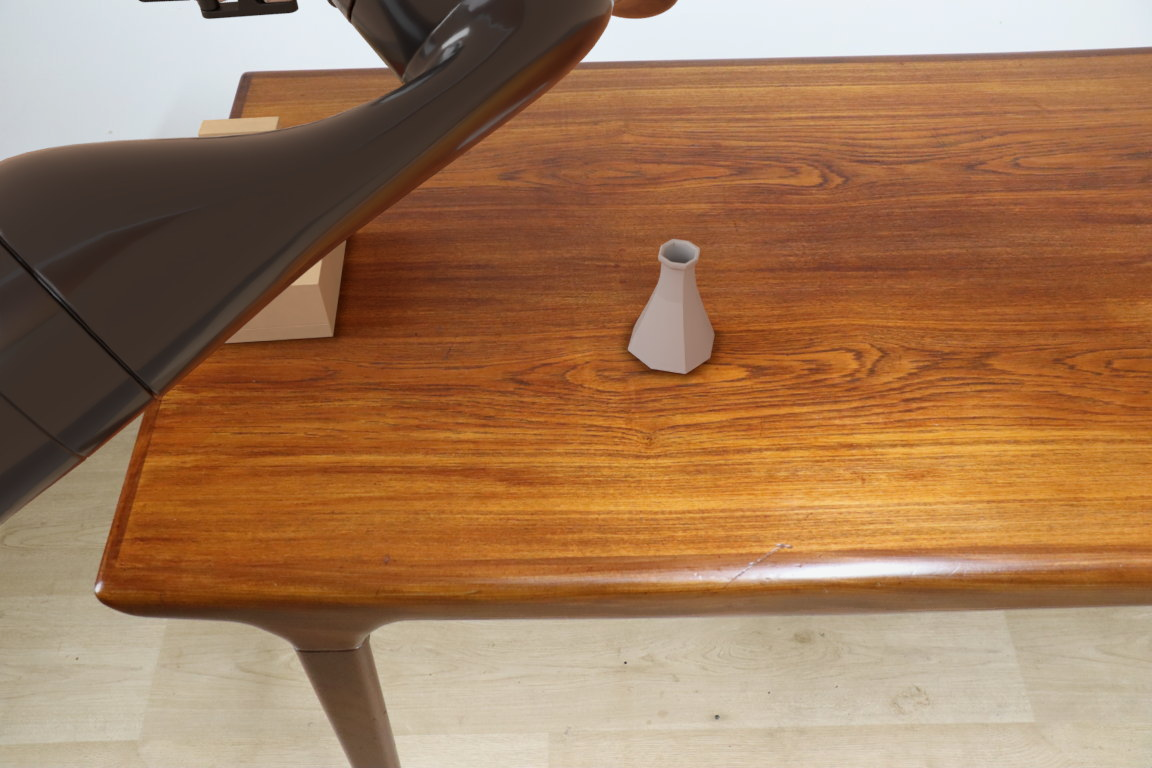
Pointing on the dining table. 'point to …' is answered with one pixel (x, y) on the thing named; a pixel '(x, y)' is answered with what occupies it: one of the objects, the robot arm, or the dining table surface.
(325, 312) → the tan slotted wooden block
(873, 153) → the dining table surface
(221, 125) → the tall tan wooden block
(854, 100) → the dining table surface
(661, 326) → the flask
